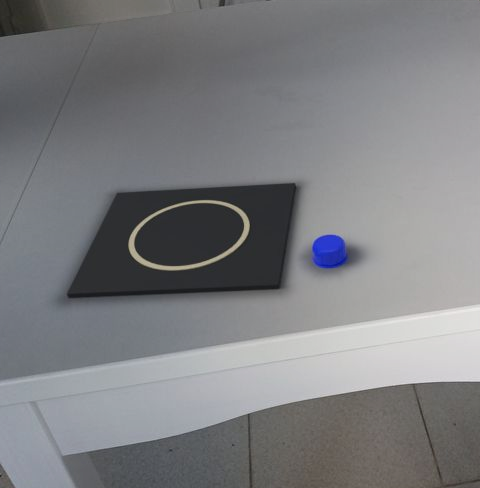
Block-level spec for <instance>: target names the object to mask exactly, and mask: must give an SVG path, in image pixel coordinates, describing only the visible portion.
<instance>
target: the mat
mask: <svg viewBox="0 0 480 488" xmlns="http://www.w3.org/2000/svg"><path fill="white" fill-rule="evenodd" d="M296 185H297V184H296V182H288V183H287V182H286V183H268V184H267V183H266V184H251V185H249V184H248V185H233V186H215V187H199V188H180V189H179V188H177V189H165V190H164V189H160V190H145V191H143V190H142V191H125V192H117V193H116V194H115V196H114V198H113V200H112V201H111V203H110V206H109V208H108V210H107V212H106V214H105V216H104V218H103V220H102V222H101V224H100V226H99V228H98V230H97V232H96V234H95V236H94V238H93V240H92V241H91V244H90V246H89V248H88V250H87V252H86V254H85V257H84V258H83V260H82V262H81V264H80V266H79V268H78V270H77V272H76V274H75V276H74V278H73V280H72V283H71V284H70V286H69V289H68V290H67V292H66V296H67V298H68V299H79V298H101V297H102V298H103V297H122V296H125V297H126V296H127V297H128V296H148V295H151V296H152V295H169V294H170V295H172V294H195V293H215V292H217V293H219V292H239V291H240V292H243V291H265V290H267V291H268V290H279V289H280V288H281V282H282V275H283V271H284V263H285V256H286V250H287V244H288V239H289V232H290V226H291V220H292V213H293V207H294V200H295V195H296V188H297V186H296Z"/></svg>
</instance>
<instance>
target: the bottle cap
mask: <svg viewBox="0 0 480 488" xmlns="http://www.w3.org/2000/svg"><path fill="white" fill-rule="evenodd" d="M311 248H312V249H311V250H312V262H313V264H314V265H316V266H317V267H319V268H322V269H335V268H338V267H340V266H342V265H344V264H345V263H346V262H347V261H348V252H347V246H346V241H345V240H344V238H342V237H341V236H340V235H337V234H332V233H331V234H324V235H321V236H319V237H317V238H316V239H315V240H314V241H313V243H312V246H311Z"/></svg>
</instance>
